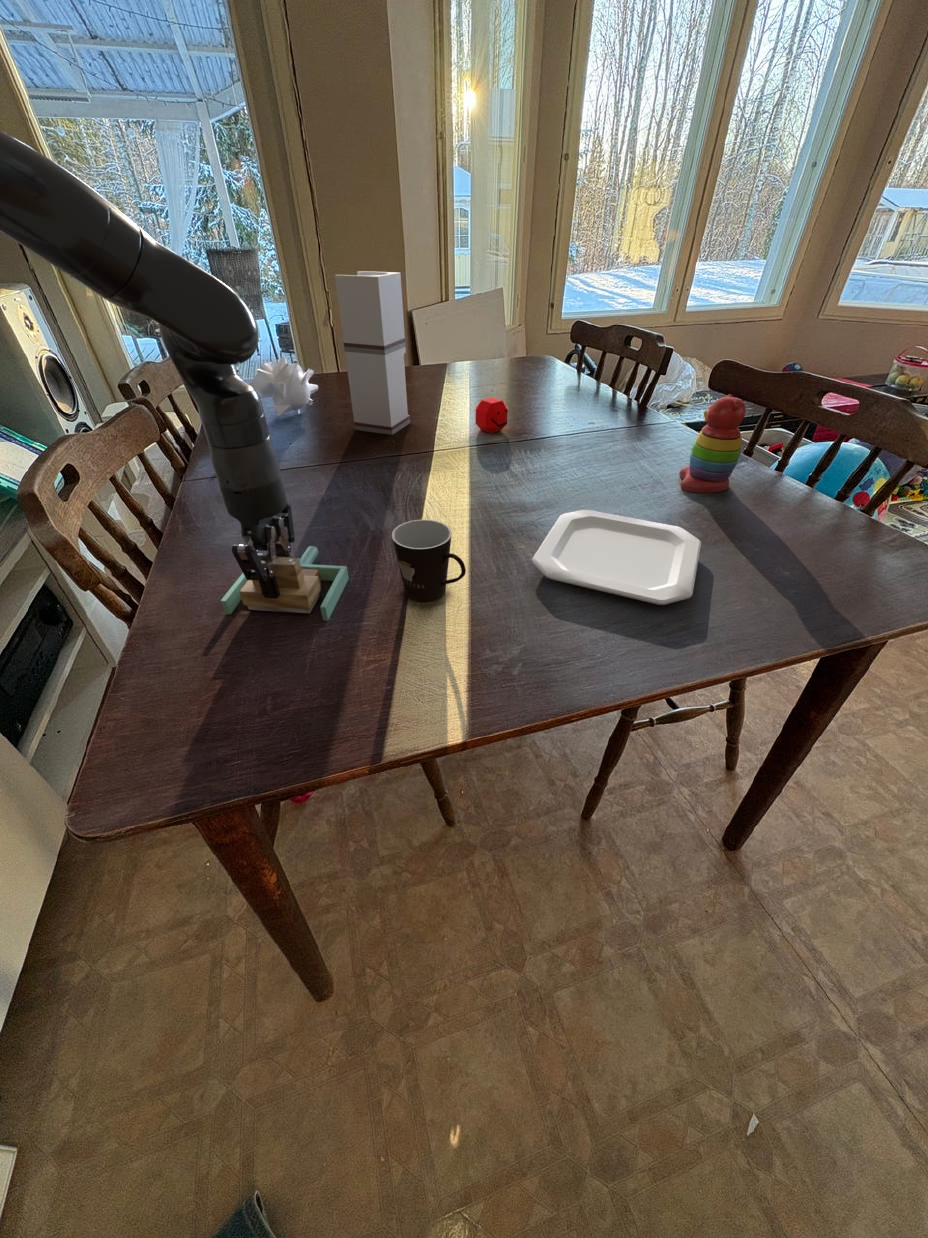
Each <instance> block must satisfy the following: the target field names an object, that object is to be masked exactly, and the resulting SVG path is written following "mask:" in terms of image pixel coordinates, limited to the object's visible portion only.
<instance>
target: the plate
mask: <svg viewBox="0 0 928 1238" xmlns="http://www.w3.org/2000/svg"><path fill="white" fill-rule="evenodd" d="M701 546H702V542H701V540H700V539H699V538H698V537H696V536H694V535H693V534H692V533H690V532H689V531H688V530H686V529H685V528H683V527H680V526H678V525H673V524H667V523H661V522H655V521H651V520H645V519H640V518H633V517H629V516H623V515H617V514H613V513H607V512H603V511H596V510H593V509H592V510H591V509H580V510H576V511H571V512H565V513H562V514H561V515H559V516H558V518H557V519H556V521H555V523H554V524H553V526H552V527H551V529H550V530H549V532H548V534H547V535H546V536H545V538H544V540H543V542H542V543H541V544H540V545H539V548H538V549H537V551H536V552H535V554H534V555H533V557H532V559H531V561H532V563H533V565H534V566H535V567H536V568H537V569H538V570H539V571H540V572H541V574H542V575H544V577H545V578H547V579H549V580H553V581H557V582H560V583H566V584H569V585H574V586H578V587H583V588H587V589H591V590H595V591H599V592H604V593H608V594H613V595H616V596H621V597H624V598H629V599H633V600H638V601H642V602H647V603H651V604H653V605H654V604H655V605H657V606H659V605H661V606H665V605H669V604H672V603H677V602H681V601H684V600H687V599H690V598H691V597H692V596H693V593H694V588H695V581H696V576H697V570H698V565H699V559H700V558H699V557H700V554H701V553H700V552H701Z"/></svg>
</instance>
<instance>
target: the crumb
mask: <svg viewBox="0 0 928 1238" xmlns="http://www.w3.org/2000/svg"><path fill="white" fill-rule="evenodd" d="M302 572H303V575H305V576H318V578H319V583H320V588H321V589H322V580H321V579H320V575H319V570H316V569H302Z"/></svg>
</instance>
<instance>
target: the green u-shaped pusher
mask: <svg viewBox="0 0 928 1238" xmlns="http://www.w3.org/2000/svg"><path fill="white" fill-rule="evenodd" d="M319 554H320V553H319V549H318V548H317V547H316V546H314V545H309V546H307V548H306V549H305V551H304V552H303V554H302V555H301V557H299V559H300V563H301V567H302V569H316V570H319V575H320V579H321V581H327V582H329V581H330V582H332V584H331V585H330V588H329V589H328V591H327V593H326V595H325V596H324V598H323V601H322V602H321V605H320V606H319V607H320V613H321V617H322V621H329V620H330V618H331V616H332V614H333V612H334V610H335V608H336V606H337V604H338V602H339V600H340V598H341V596H342V594H343V592H344V589H345V588H346V586H347V583H348V582H349V580H350V579H349V578H350V577H349V573H348V567H347V566H346V565H329V564H314V562H315V560H316V558H317V557H318V555H319ZM247 581H248V580H247V579H246V577H245V576H244V574H243V572H242V573H241V574H240V576H239V577H238V578H237V579H236V580H235V582H234V583H233V585H231V586H230V588H229V590H228V591H227V592H226V593H225V594H224V596H223V597H222V598H221V599H220V604H221V606H222V609H223V611H224V615H232V613H233V612H234V611H235V609H236V608H237V606H238V605H239V604H240V602H241V601H242V598H241V595H240V592H239V591H240V590H241V589H242V587H243V586H244V585H245V583H246V582H247Z"/></svg>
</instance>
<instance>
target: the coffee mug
mask: <svg viewBox="0 0 928 1238" xmlns="http://www.w3.org/2000/svg"><path fill="white" fill-rule="evenodd" d="M452 532H453V531H452V530H451V527H450V526H449V525H447V524H445V523H443V522H441V521H437V520H434V519H414V520H409V521H406V522H403V523H401V524H399V525H397V526H396V527H394V529H393V530H392V532H391V540H392V543H393V547H394V551H395V556H396V560H397V565H398V568H399V574H400V577H401V581H402V585H403V590H404V595H405V596H406V598H407V599H409V600H411V601H413V602H417V603H431V602H435V601H438V600H439V599H441V598H442V597H444V595H445V594H446V592H447V591H446V590H447V585H450V584H453V583H457V582H458V581H460V580H462V579H463V578H464V577H465V575H466V573H467V570H466V565H465V562H464V561H463V560H462V559H461V557H459V556H458V555H456V554H455V553H452V552H451V543H452V535H453V534H452ZM450 559H453V560H455V561H456V562H457V564H458V565H459V567H460V570H461V571H460V574H459V575H458V576H457V577H454V578H450V579H448V572H449V564H450V563H449V562H450Z"/></svg>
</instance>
